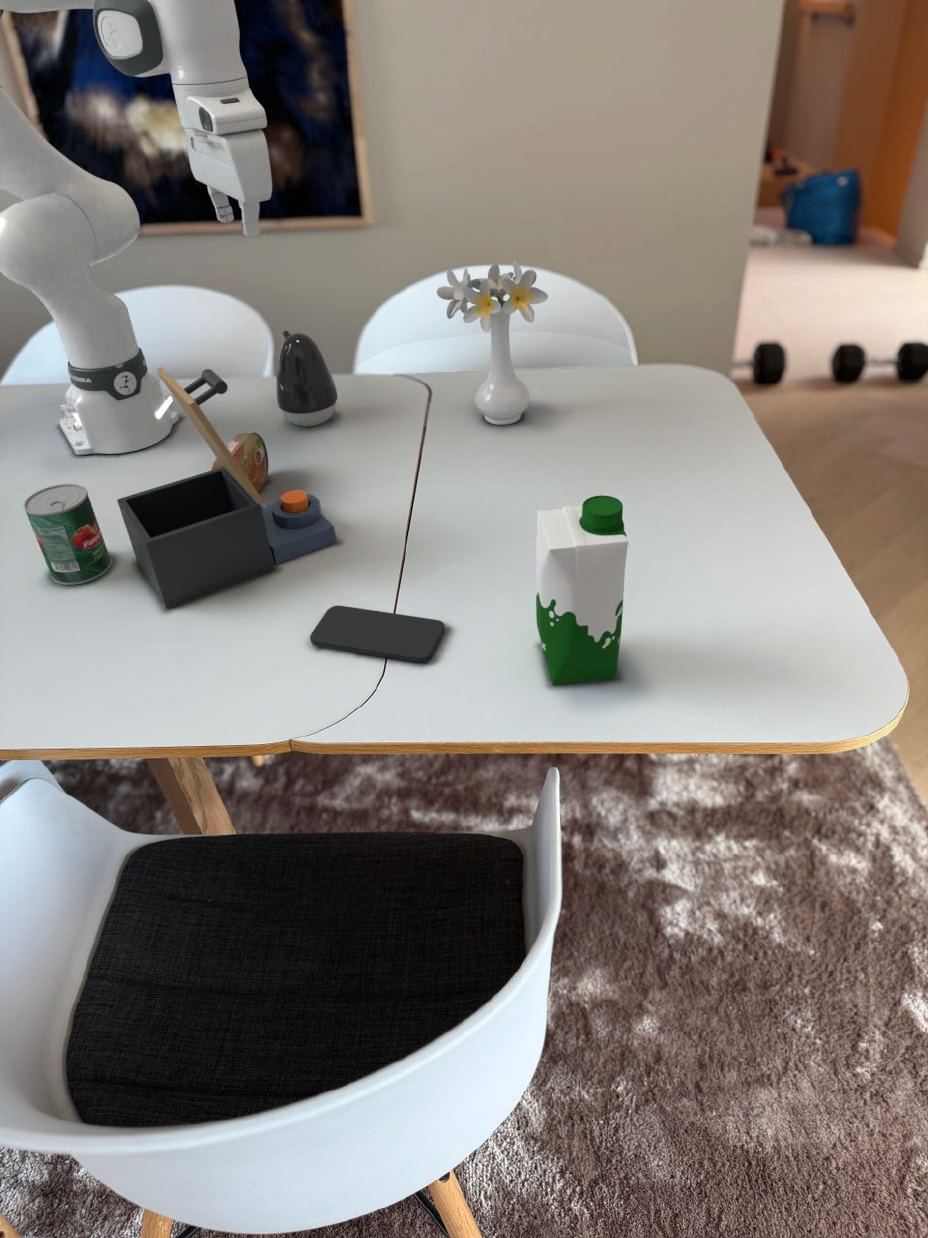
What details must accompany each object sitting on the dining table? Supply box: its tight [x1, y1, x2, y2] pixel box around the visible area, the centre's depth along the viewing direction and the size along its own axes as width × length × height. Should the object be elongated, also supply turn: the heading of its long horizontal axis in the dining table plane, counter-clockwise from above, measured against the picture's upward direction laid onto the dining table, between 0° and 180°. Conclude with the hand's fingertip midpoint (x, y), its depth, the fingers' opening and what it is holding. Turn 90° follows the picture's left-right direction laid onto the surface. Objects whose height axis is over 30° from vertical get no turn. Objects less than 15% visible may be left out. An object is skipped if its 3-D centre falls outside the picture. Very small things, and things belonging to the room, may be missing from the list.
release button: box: [280, 489, 309, 513], centre depth 125 cm, size 4×4×2 cm
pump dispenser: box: [275, 330, 339, 427], centre depth 153 cm, size 10×10×15 cm
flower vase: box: [436, 260, 549, 426], centre depth 147 cm, size 13×18×25 cm
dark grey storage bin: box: [116, 467, 276, 610], centre depth 120 cm, size 15×13×10 cm
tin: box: [211, 431, 269, 493], centre depth 135 cm, size 15×3×8 cm, turn 168°
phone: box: [309, 605, 446, 663], centre depth 108 cm, size 7×1×15 cm
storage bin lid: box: [155, 366, 263, 504], centre depth 114 cm, size 16×13×5 cm
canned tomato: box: [23, 483, 112, 586], centre depth 121 cm, size 8×8×11 cm
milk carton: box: [535, 494, 629, 686], centre depth 96 cm, size 9×9×20 cm
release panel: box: [261, 493, 337, 565], centre depth 126 cm, size 9×11×4 cm
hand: (238, 227), depth 118 cm, fingers open, 8 cm apart
